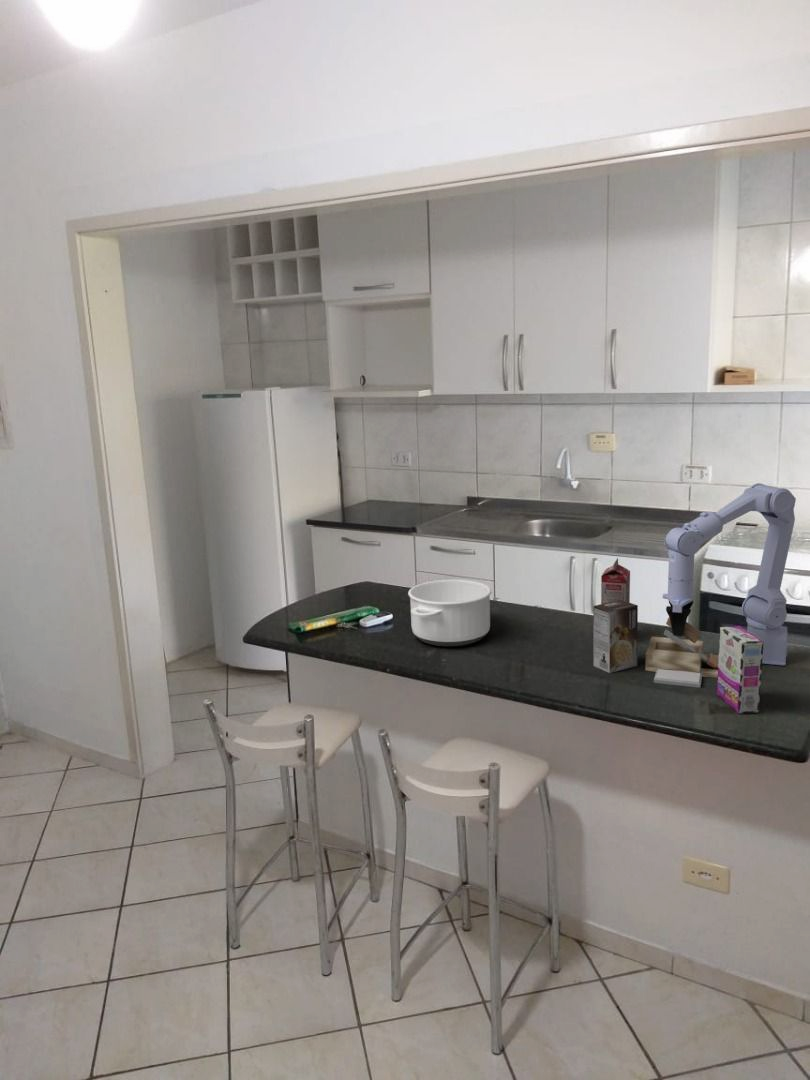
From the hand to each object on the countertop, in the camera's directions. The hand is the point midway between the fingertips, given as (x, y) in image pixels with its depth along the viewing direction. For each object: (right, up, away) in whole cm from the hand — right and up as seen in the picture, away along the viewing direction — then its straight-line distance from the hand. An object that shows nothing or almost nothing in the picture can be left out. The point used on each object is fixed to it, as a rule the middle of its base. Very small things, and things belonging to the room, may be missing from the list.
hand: (678, 632), depth 205 cm
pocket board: (+3, -9, +7) cm, 12 cm away
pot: (-53, -5, +35) cm, 64 cm away
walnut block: (0, 0, 0) cm, 1 cm away
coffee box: (-13, -10, +8) cm, 18 cm away
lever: (+4, -5, +6) cm, 9 cm away
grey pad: (-1, -11, -2) cm, 11 cm away
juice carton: (-9, -5, +27) cm, 29 cm away
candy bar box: (+8, -14, -16) cm, 23 cm away
